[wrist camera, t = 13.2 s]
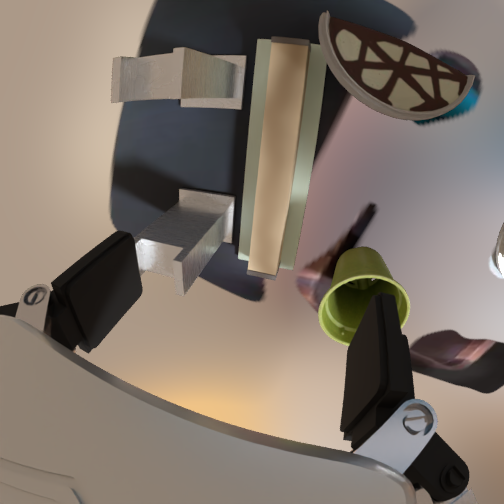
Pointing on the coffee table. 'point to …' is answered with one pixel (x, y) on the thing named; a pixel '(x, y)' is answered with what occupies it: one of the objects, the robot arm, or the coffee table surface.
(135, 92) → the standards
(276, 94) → the rail
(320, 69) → the mat
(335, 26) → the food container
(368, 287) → the plant pot
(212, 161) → the coffee table surface
